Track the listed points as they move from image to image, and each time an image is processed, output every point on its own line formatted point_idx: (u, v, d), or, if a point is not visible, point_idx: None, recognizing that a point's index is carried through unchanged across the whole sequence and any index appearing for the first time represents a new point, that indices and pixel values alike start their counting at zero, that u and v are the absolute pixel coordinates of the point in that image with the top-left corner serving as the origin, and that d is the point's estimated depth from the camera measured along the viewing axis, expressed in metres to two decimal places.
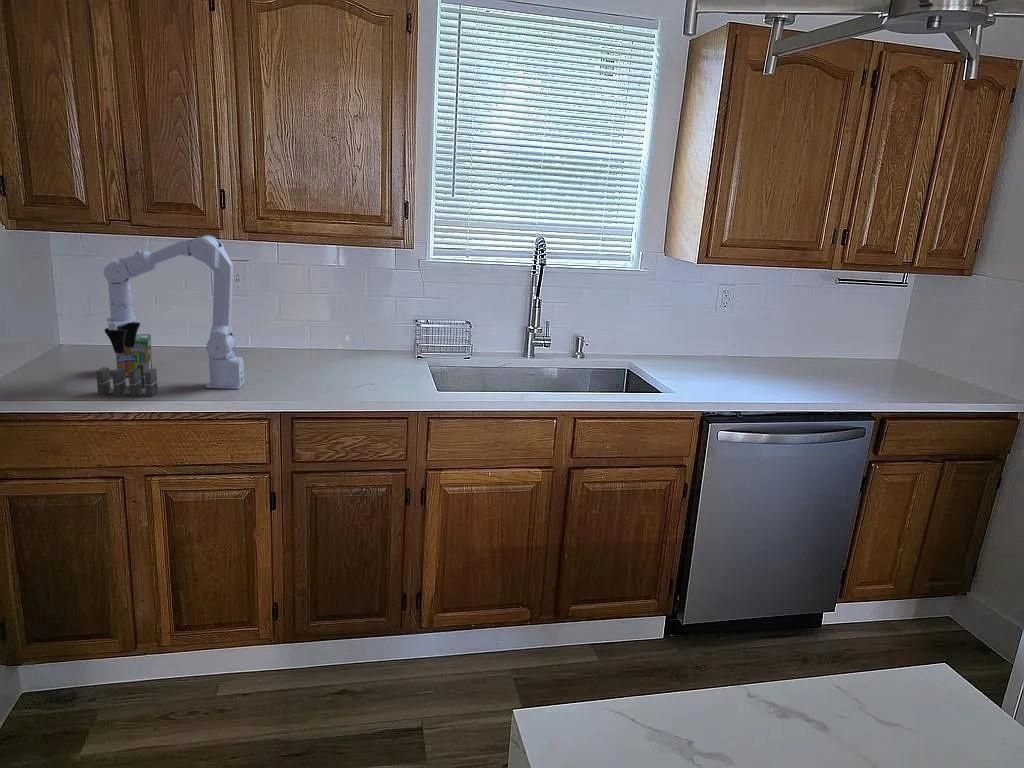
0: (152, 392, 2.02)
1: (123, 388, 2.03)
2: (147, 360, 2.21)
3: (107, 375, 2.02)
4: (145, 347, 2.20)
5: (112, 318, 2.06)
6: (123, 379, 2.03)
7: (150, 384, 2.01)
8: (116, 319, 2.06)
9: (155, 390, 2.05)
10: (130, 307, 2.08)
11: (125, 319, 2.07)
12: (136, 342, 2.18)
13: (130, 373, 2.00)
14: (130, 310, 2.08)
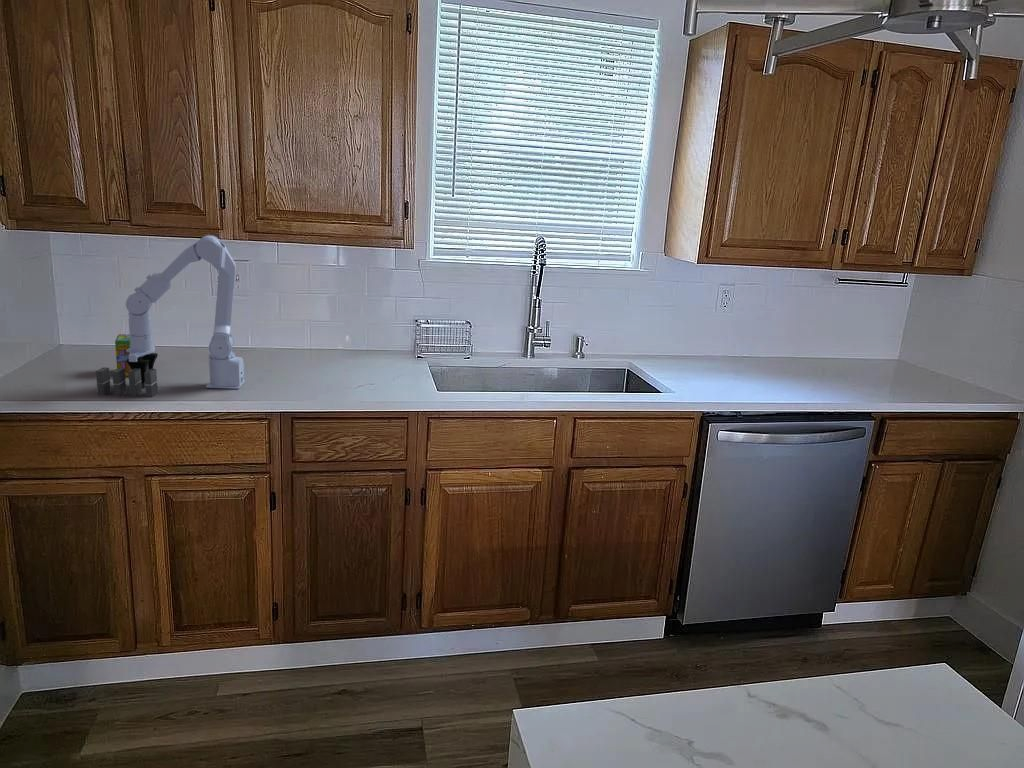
0: (152, 392, 2.02)
1: (123, 388, 2.03)
2: None
3: (107, 375, 2.02)
4: None
5: (132, 349, 2.06)
6: (123, 379, 2.03)
7: (150, 384, 2.01)
8: (136, 350, 2.06)
9: (155, 390, 2.05)
10: (150, 338, 2.07)
11: (145, 350, 2.06)
12: None
13: (130, 373, 2.00)
14: (150, 341, 2.07)
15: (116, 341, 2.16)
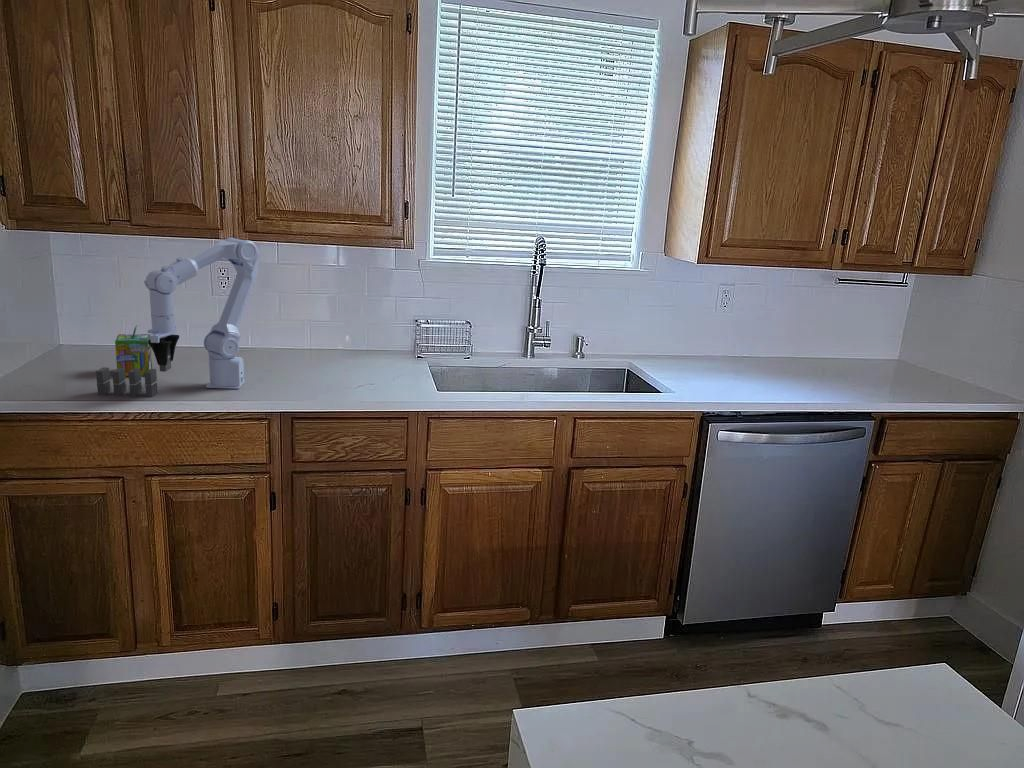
0: (152, 392, 2.02)
1: (123, 388, 2.03)
2: (147, 360, 2.21)
3: (107, 375, 2.02)
4: (145, 348, 2.20)
5: (153, 330, 1.97)
6: (123, 379, 2.03)
7: (150, 384, 2.01)
8: (158, 331, 1.97)
9: (155, 390, 2.05)
10: (172, 318, 1.99)
11: (167, 331, 1.98)
12: (136, 342, 2.18)
13: (130, 373, 2.00)
14: (172, 321, 1.99)
15: (116, 341, 2.16)
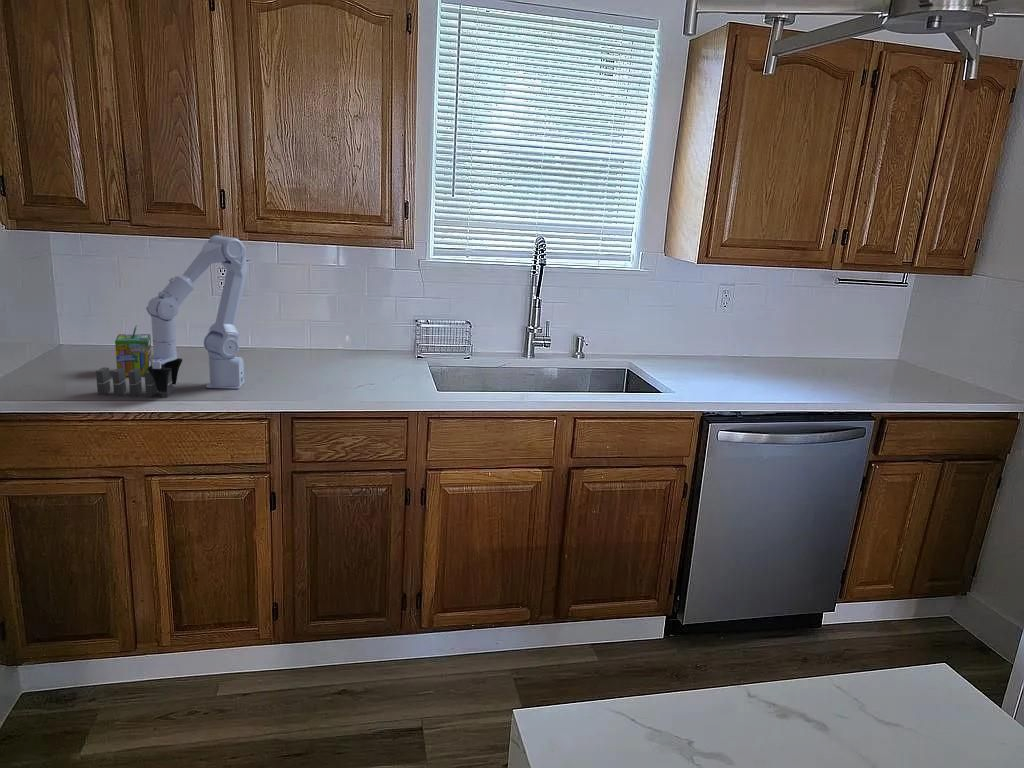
0: (152, 392, 2.02)
1: (123, 388, 2.03)
2: (147, 360, 2.21)
3: (107, 375, 2.02)
4: (145, 347, 2.20)
5: (155, 356, 1.99)
6: (124, 379, 2.03)
7: (150, 384, 2.01)
8: (159, 357, 1.99)
9: (155, 390, 2.05)
10: (174, 344, 2.01)
11: (169, 357, 2.00)
12: (136, 342, 2.18)
13: (130, 373, 2.00)
14: (174, 347, 2.01)
15: (116, 341, 2.16)
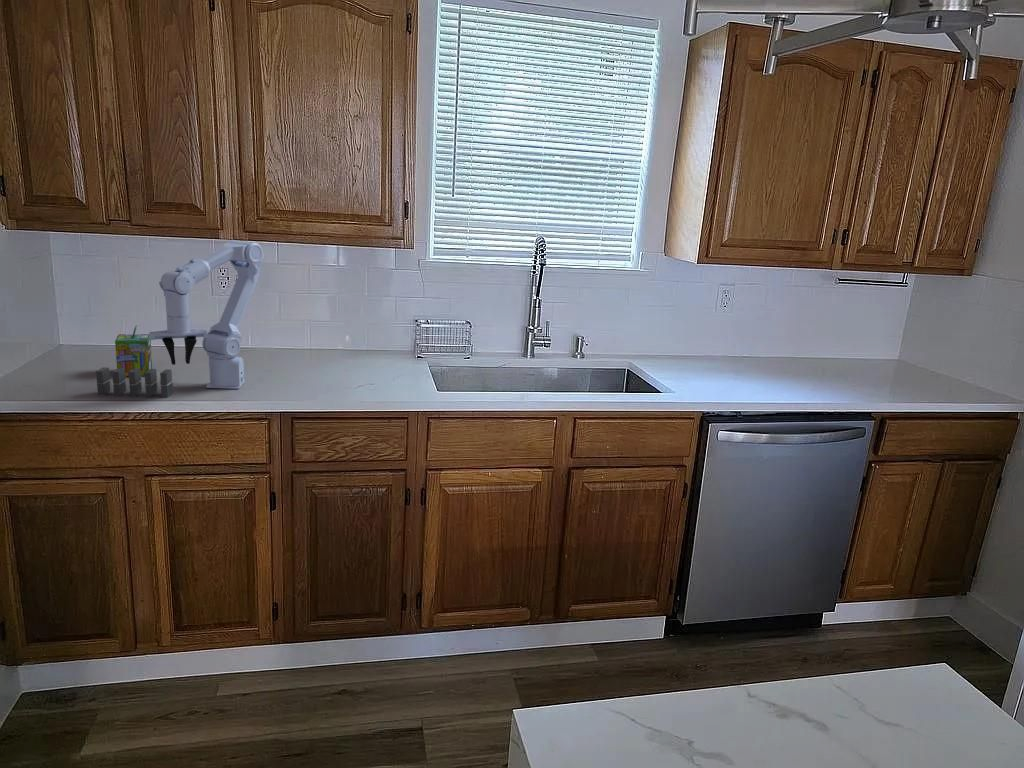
0: (152, 392, 2.02)
1: (123, 388, 2.03)
2: (147, 360, 2.21)
3: (107, 375, 2.02)
4: (145, 347, 2.20)
5: None
6: (123, 379, 2.03)
7: (150, 384, 2.01)
8: (167, 330, 1.99)
9: (155, 390, 2.05)
10: (177, 320, 1.97)
11: (171, 331, 1.98)
12: (136, 342, 2.18)
13: (130, 373, 2.00)
14: (177, 323, 1.97)
15: (116, 341, 2.16)
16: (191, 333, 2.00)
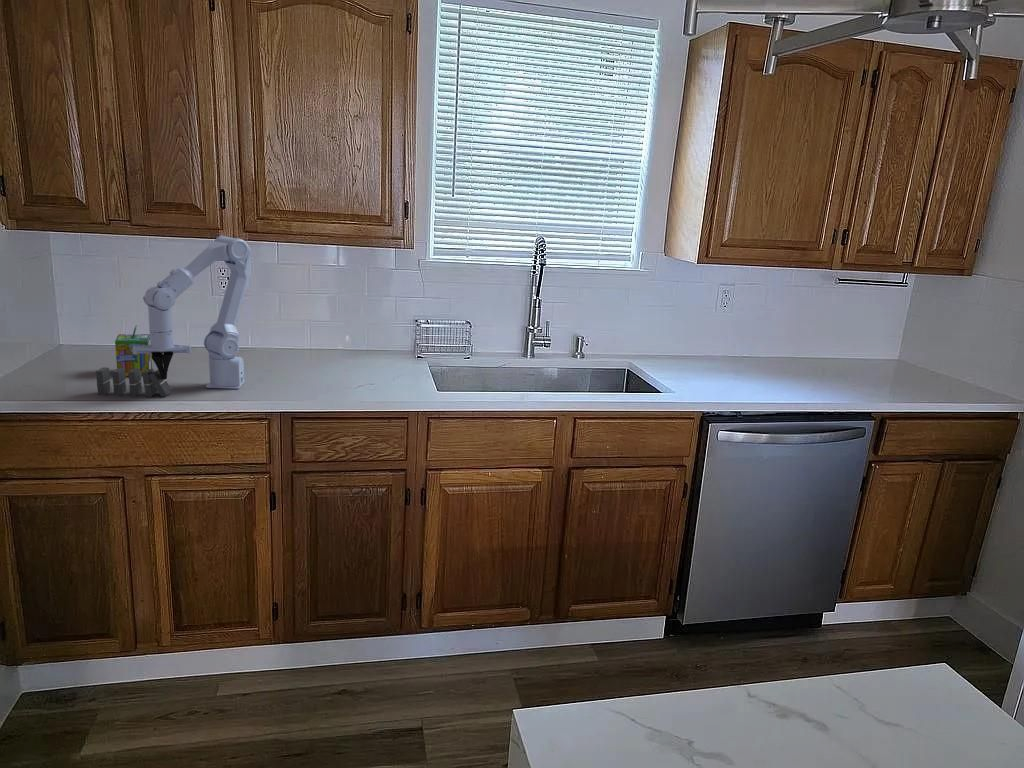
0: (151, 392, 2.02)
1: (123, 388, 2.03)
2: (147, 360, 2.21)
3: (107, 375, 2.02)
4: None
5: None
6: (124, 379, 2.03)
7: (149, 384, 2.01)
8: None
9: (154, 389, 2.05)
10: (157, 335, 1.97)
11: (152, 346, 1.98)
12: (136, 342, 2.18)
13: (130, 373, 2.00)
14: (157, 338, 1.98)
15: (116, 341, 2.16)
16: (172, 349, 2.00)
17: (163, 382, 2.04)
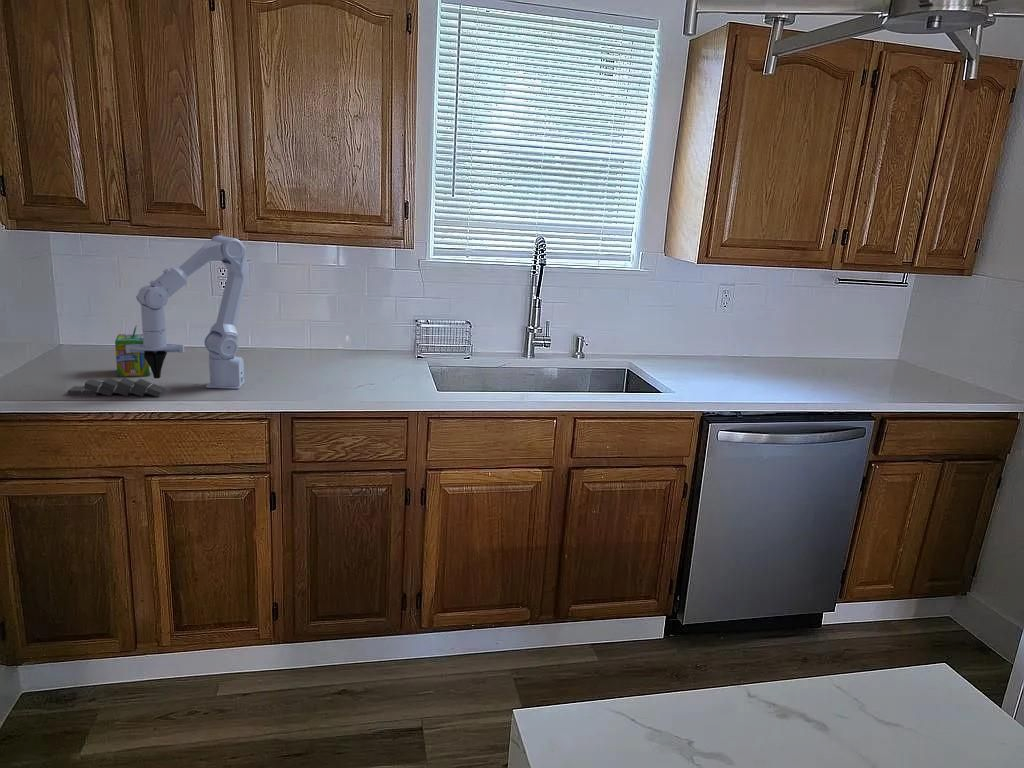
0: None
1: None
2: None
3: (80, 387, 2.02)
4: None
5: None
6: (100, 383, 2.02)
7: (130, 387, 2.01)
8: None
9: None
10: (149, 334, 1.97)
11: (144, 345, 1.98)
12: (136, 342, 2.18)
13: (102, 385, 1.99)
14: (149, 338, 1.97)
15: (116, 341, 2.16)
16: (165, 348, 2.00)
17: (151, 385, 2.03)
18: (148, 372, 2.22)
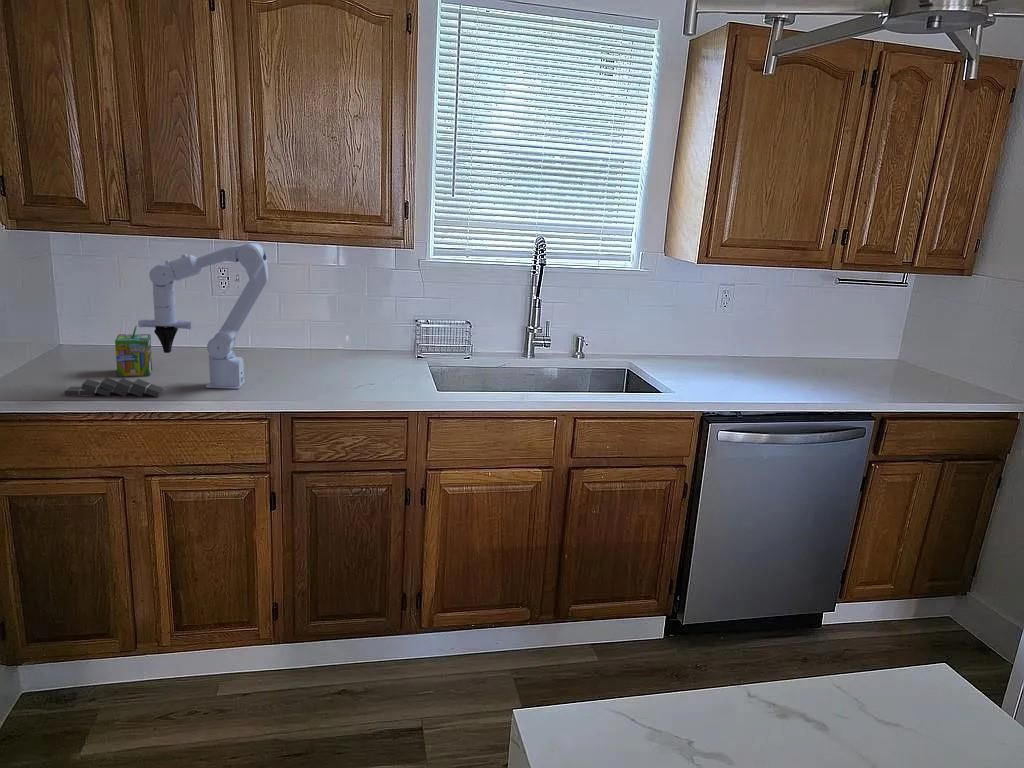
0: None
1: None
2: (147, 360, 2.21)
3: (76, 387, 2.01)
4: (145, 348, 2.20)
5: None
6: (98, 383, 2.02)
7: (129, 387, 2.00)
8: None
9: None
10: (159, 310, 2.06)
11: (155, 321, 2.08)
12: (136, 342, 2.18)
13: (101, 385, 1.99)
14: (159, 313, 2.06)
15: (116, 341, 2.16)
16: (173, 324, 2.08)
17: (149, 385, 2.03)
18: (148, 372, 2.22)
